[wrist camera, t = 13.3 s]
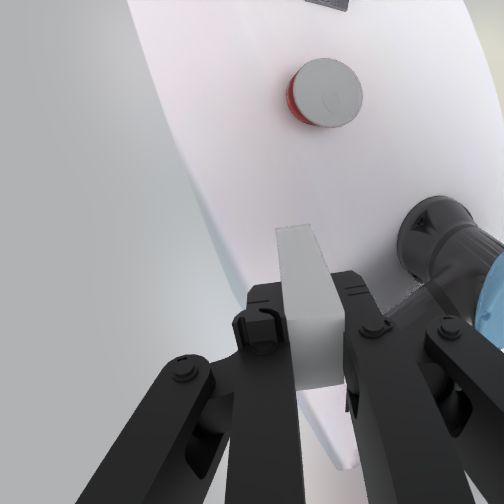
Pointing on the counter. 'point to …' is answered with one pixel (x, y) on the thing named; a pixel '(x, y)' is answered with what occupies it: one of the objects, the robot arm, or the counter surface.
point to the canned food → (325, 93)
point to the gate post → (332, 3)
